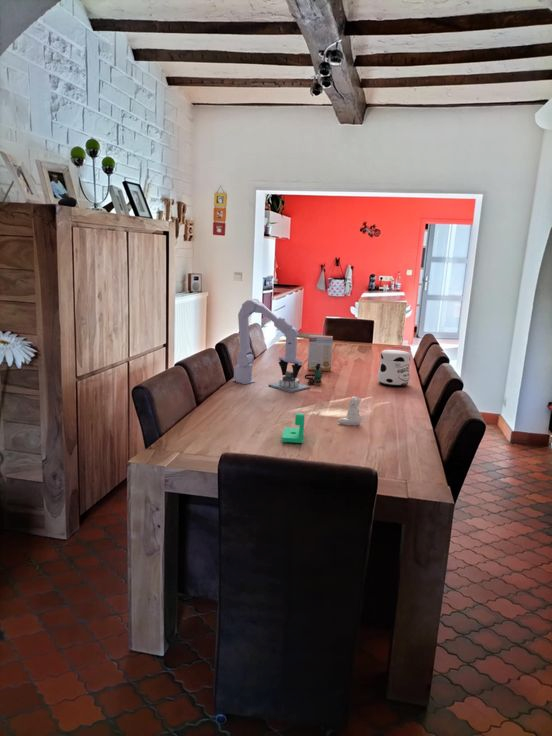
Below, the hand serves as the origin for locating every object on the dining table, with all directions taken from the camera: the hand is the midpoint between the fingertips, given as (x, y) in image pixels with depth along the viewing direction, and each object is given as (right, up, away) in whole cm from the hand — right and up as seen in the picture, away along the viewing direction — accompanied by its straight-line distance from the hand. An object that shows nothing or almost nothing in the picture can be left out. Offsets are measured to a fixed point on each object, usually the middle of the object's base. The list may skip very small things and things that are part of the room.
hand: (289, 376), depth 279 cm
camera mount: (-1, -23, -75) cm, 78 cm away
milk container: (+57, -5, +18) cm, 60 cm away
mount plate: (0, -6, +1) cm, 6 cm away
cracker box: (+19, +3, +45) cm, 48 cm away
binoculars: (+13, -4, +12) cm, 18 cm away
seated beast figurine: (+25, -19, -53) cm, 62 cm away
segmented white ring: (0, -6, +1) cm, 6 cm away
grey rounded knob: (0, -5, +1) cm, 5 cm away
